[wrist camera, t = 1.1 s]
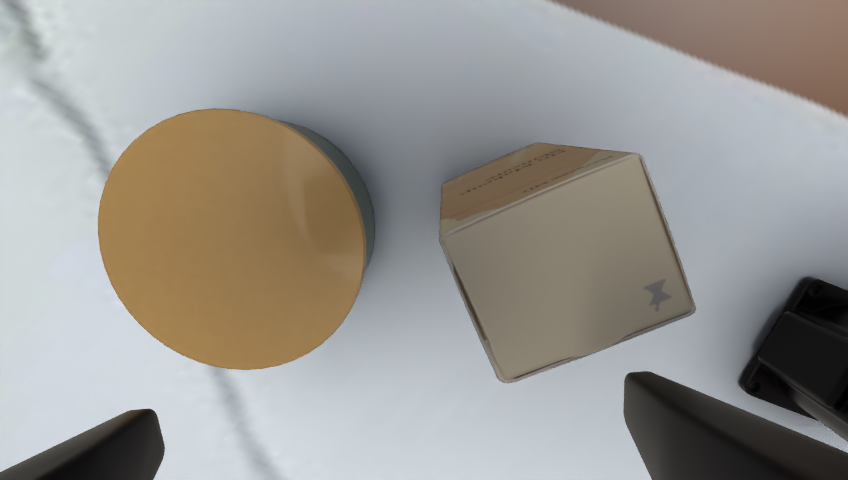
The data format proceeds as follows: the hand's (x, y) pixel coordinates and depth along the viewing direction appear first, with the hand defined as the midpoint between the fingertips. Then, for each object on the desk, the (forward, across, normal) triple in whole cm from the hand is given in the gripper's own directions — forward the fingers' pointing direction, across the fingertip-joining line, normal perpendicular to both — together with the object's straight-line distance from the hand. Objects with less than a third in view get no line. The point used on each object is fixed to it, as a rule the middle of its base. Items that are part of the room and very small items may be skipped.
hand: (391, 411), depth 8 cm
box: (+14, -5, -2) cm, 14 cm away
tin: (+14, +6, -1) cm, 15 cm away
